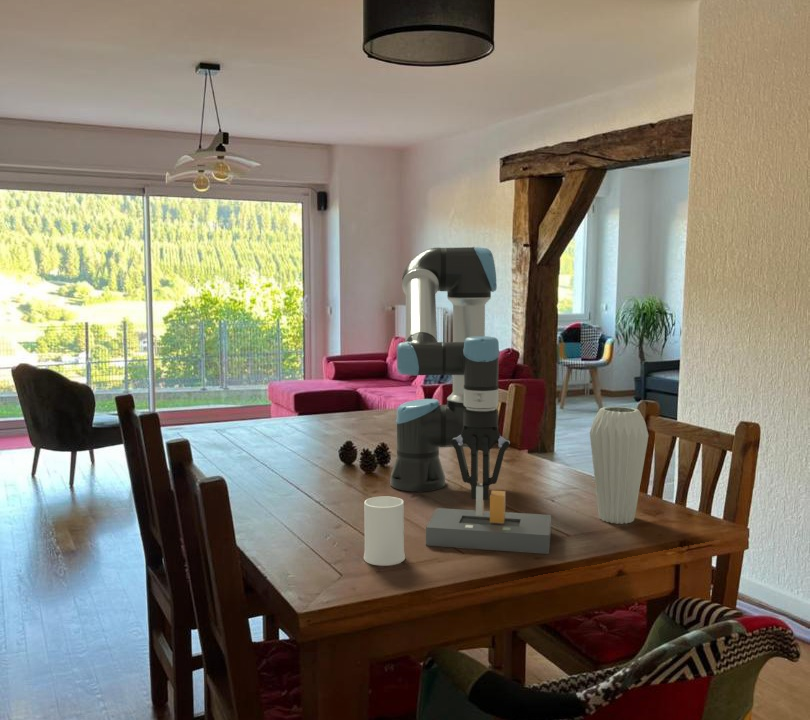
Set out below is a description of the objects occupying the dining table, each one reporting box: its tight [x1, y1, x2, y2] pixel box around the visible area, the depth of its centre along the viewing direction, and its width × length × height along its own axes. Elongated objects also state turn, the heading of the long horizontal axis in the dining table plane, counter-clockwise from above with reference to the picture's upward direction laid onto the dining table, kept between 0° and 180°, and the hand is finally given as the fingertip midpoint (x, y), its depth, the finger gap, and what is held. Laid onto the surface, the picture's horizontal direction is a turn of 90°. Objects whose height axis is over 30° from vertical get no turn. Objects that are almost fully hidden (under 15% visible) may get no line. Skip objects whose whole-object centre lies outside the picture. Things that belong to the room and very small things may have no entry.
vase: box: [589, 405, 650, 525], centre depth 186 cm, size 13×13×26 cm
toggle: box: [489, 490, 506, 523], centre depth 173 cm, size 3×4×6 cm
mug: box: [363, 495, 406, 567], centre depth 163 cm, size 12×8×12 cm
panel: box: [425, 507, 552, 555], centre depth 174 cm, size 26×14×4 cm, turn 78°
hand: (479, 513), depth 174 cm, fingers closed
